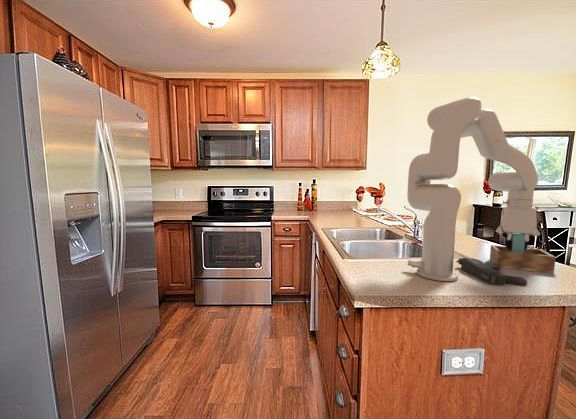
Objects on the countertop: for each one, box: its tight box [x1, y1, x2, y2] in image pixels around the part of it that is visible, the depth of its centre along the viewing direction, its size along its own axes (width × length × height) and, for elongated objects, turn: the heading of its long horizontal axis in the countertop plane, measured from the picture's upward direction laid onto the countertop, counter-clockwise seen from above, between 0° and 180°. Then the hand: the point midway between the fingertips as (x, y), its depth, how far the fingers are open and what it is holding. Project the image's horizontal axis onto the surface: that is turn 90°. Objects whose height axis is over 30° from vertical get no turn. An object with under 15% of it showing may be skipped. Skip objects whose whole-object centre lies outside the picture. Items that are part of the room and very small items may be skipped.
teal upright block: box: [508, 233, 525, 253], centre depth 105 cm, size 4×9×9 cm, turn 154°
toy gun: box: [455, 257, 528, 287], centre depth 94 cm, size 5×19×15 cm
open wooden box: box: [489, 244, 556, 274], centre depth 105 cm, size 16×12×6 cm
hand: (515, 249), depth 106 cm, fingers closed on teal upright block, 3 cm apart
